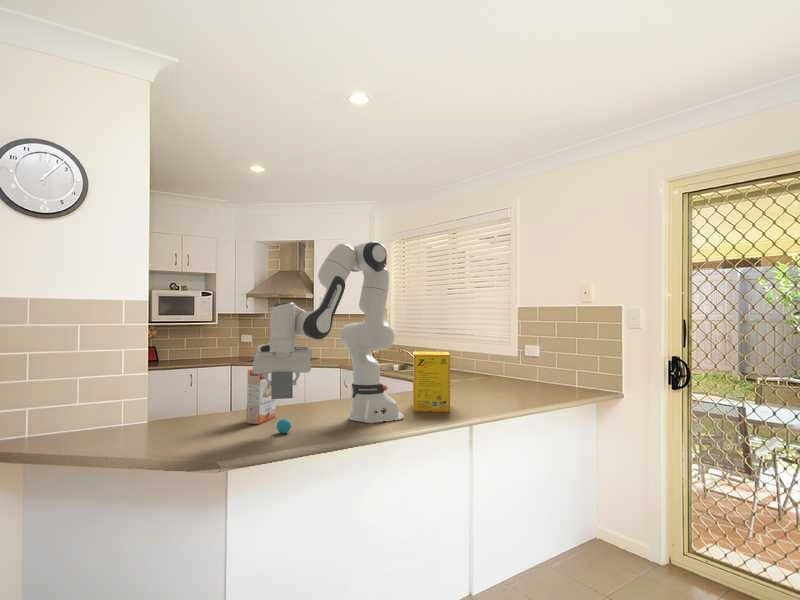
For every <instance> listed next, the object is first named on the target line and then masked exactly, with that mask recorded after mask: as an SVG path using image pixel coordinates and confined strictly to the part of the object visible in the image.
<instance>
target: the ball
mask: <svg viewBox="0 0 800 600" xmlns="http://www.w3.org/2000/svg"><path fill="white" fill-rule="evenodd" d="M291 428H292V423H291V421H290V420H289V419H287V418H282V419H280V420H278V422H276V430H277V431H278V433H281V434H287V433H289V432H290V431H291Z"/></svg>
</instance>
